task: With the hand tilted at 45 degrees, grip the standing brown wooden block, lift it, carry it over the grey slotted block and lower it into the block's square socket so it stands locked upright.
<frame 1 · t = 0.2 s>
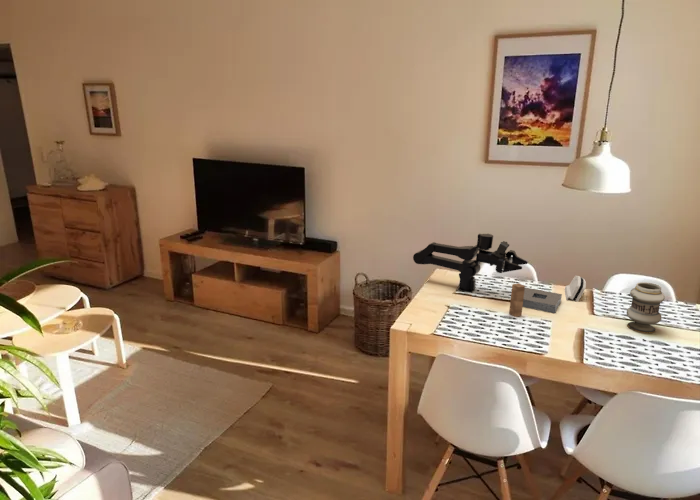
hand: (524, 265, 224), 17 cm above the table, tool horizontal, fingers open, 9 cm apart
apothecary jar: (641, 328, 202), on the table
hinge: (574, 296, 236), on the table
grey slotted block: (538, 303, 225), on the table
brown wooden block: (515, 314, 213), on the table
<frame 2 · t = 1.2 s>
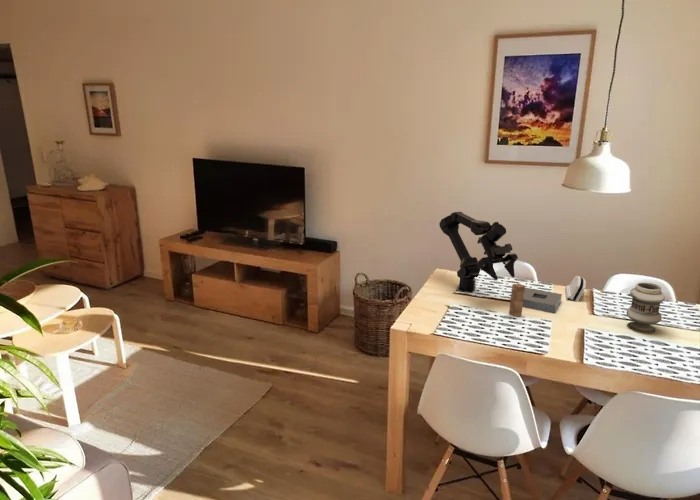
hand: (505, 278, 216), 13 cm above the table, tool tilted 45°, fingers open, 9 cm apart
nothing on the table moved.
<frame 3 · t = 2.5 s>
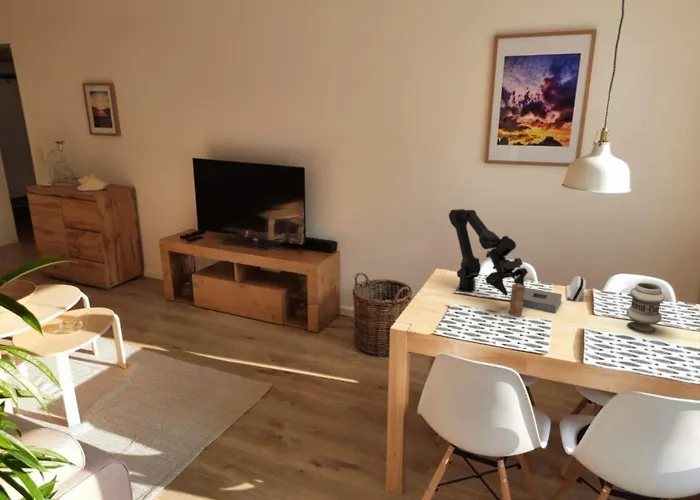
hand: (515, 293, 212), 9 cm above the table, tool tilted 45°, fingers open, 9 cm apart
nothing on the table moved.
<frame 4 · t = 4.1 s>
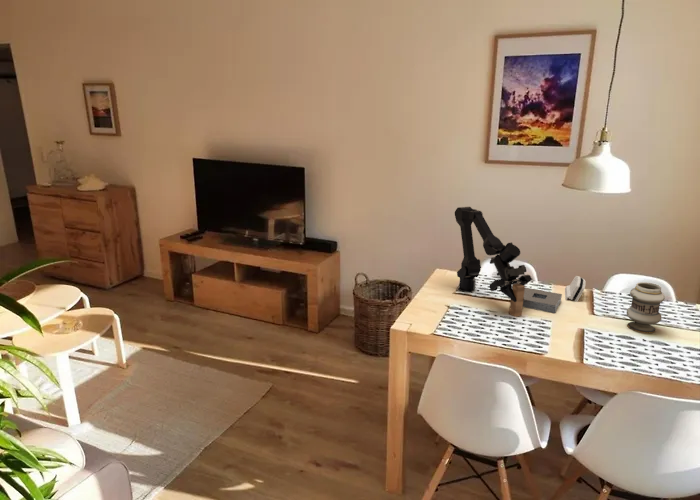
hand: (519, 301, 210), 7 cm above the table, tool tilted 45°, fingers closed on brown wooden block, 3 cm apart
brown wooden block: (515, 314, 213), on the table, touching gripper
everything else where it was.
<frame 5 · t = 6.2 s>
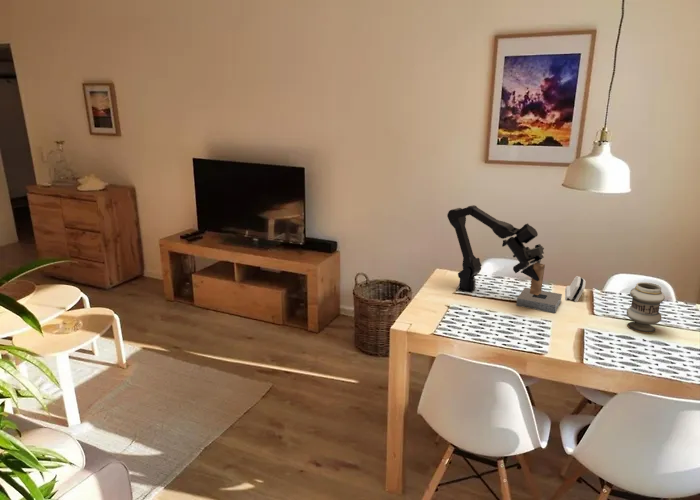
hand: (540, 279, 215), 13 cm above the table, tool tilted 45°, fingers closed on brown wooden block, 3 cm apart
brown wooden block: (535, 293, 218), point 7 cm above the table, touching gripper
everything else where it was.
when the fingers open (8 cm above the table, at t = 8.4 s): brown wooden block drops 1 cm, resting in grey slotted block.
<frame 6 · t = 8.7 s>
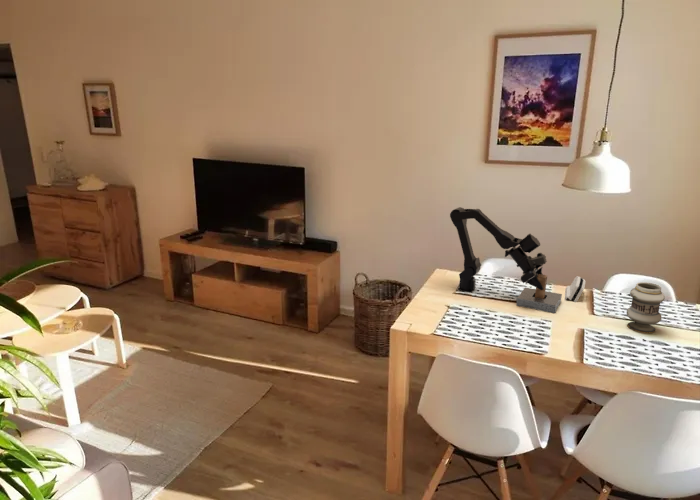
hand: (544, 286, 223), 8 cm above the table, tool tilted 45°, fingers open, 7 cm apart
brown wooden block: (538, 303, 225), resting in grey slotted block
everything else where it was.
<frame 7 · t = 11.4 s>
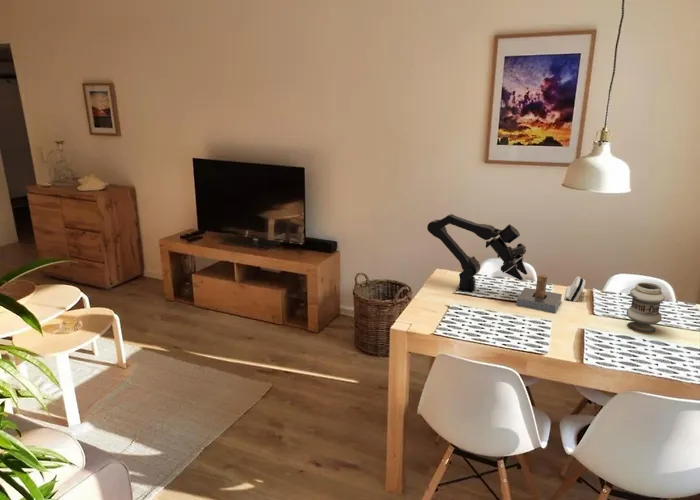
hand: (524, 276, 226), 11 cm above the table, tool tilted 45°, fingers open, 9 cm apart
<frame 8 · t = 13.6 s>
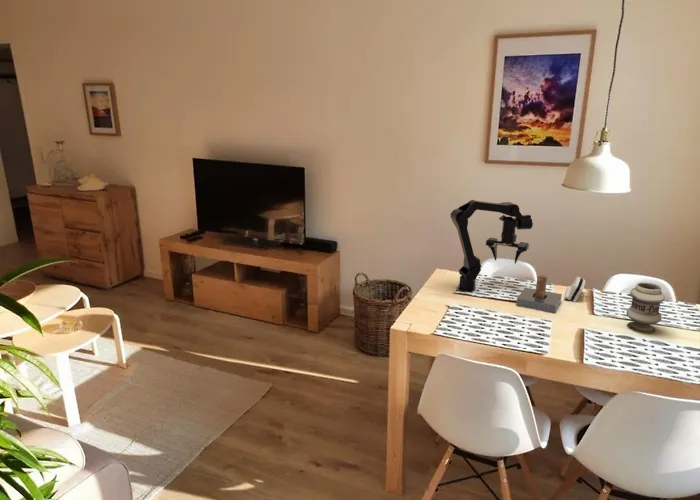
hand: (505, 261, 241), 13 cm above the table, tool pointing down, fingers open, 9 cm apart
at the end: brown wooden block 0.0 cm off-centre on the grey slotted block, point 0.0 cm above the grey slotted block's base; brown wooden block tilted 0°; the gripper is holding nothing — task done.
